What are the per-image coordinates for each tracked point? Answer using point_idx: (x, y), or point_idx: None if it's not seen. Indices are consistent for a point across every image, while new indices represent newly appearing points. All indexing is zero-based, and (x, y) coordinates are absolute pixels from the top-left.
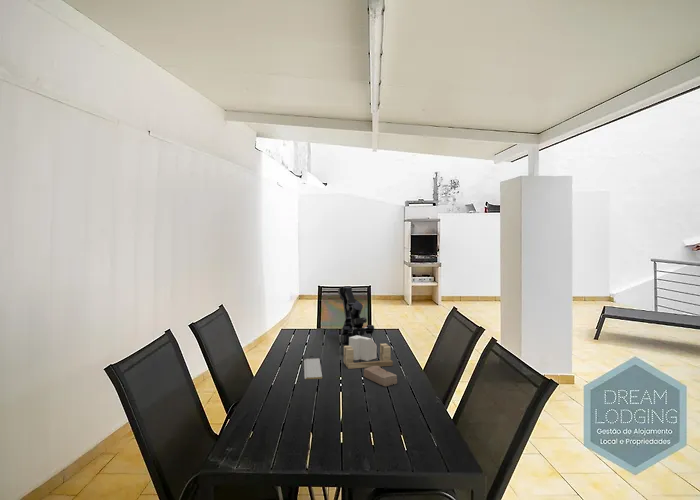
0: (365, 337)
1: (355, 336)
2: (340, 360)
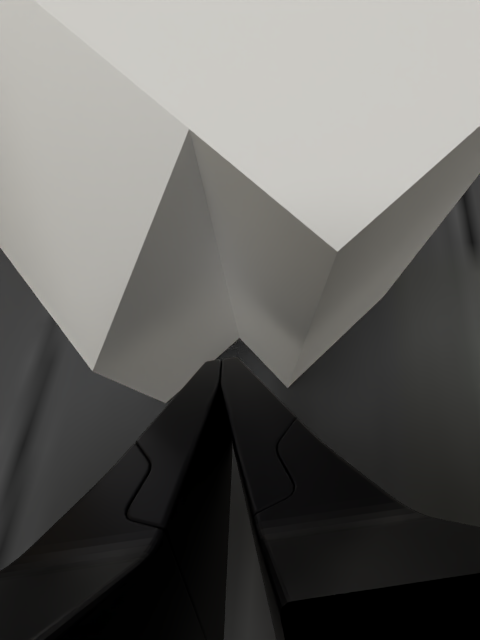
0: (100, 24)
1: (391, 103)
2: (471, 235)
